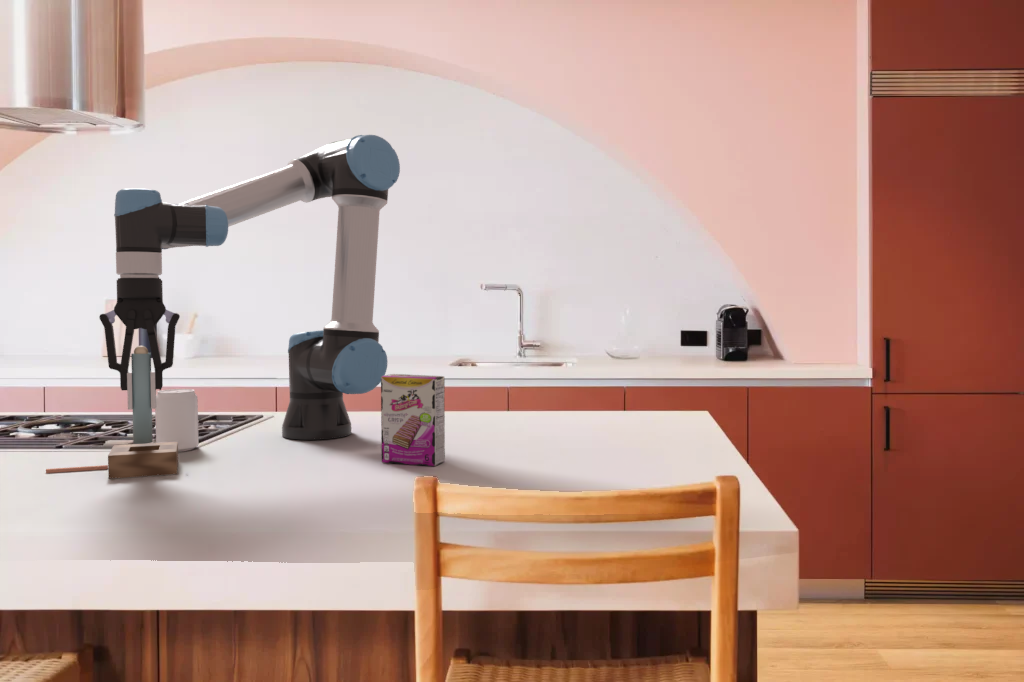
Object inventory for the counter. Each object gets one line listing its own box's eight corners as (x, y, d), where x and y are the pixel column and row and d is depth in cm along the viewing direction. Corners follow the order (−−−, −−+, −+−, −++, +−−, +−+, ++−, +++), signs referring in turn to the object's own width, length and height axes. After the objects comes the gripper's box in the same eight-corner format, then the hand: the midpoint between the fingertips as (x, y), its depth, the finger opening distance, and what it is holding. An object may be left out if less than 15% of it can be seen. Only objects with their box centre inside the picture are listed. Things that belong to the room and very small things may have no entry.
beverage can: (184, 453, 176) (182, 393, 176) (147, 452, 178) (146, 392, 177) (206, 446, 184) (204, 388, 184) (171, 445, 186) (169, 388, 185)
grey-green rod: (152, 440, 161) (151, 345, 160) (152, 443, 158) (150, 346, 157) (133, 441, 160) (131, 345, 159) (132, 444, 157) (130, 346, 156)
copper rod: (108, 468, 162) (107, 465, 162) (107, 469, 161) (107, 465, 161) (46, 472, 159) (46, 468, 159) (46, 473, 158) (45, 469, 158)
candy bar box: (380, 463, 165) (379, 375, 164) (392, 458, 170) (391, 373, 169) (435, 467, 162) (434, 377, 161) (446, 462, 166) (445, 375, 165)
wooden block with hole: (178, 462, 167) (177, 441, 167) (176, 474, 156) (176, 451, 156) (114, 466, 163) (113, 445, 163) (108, 478, 153) (107, 455, 153)
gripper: (188, 277, 164) (190, 403, 165) (91, 277, 159) (95, 407, 160) (187, 276, 157) (190, 408, 158) (86, 276, 152) (90, 412, 153)
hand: (142, 407), depth 159 cm, fingers closed on grey-green rod, 3 cm apart
